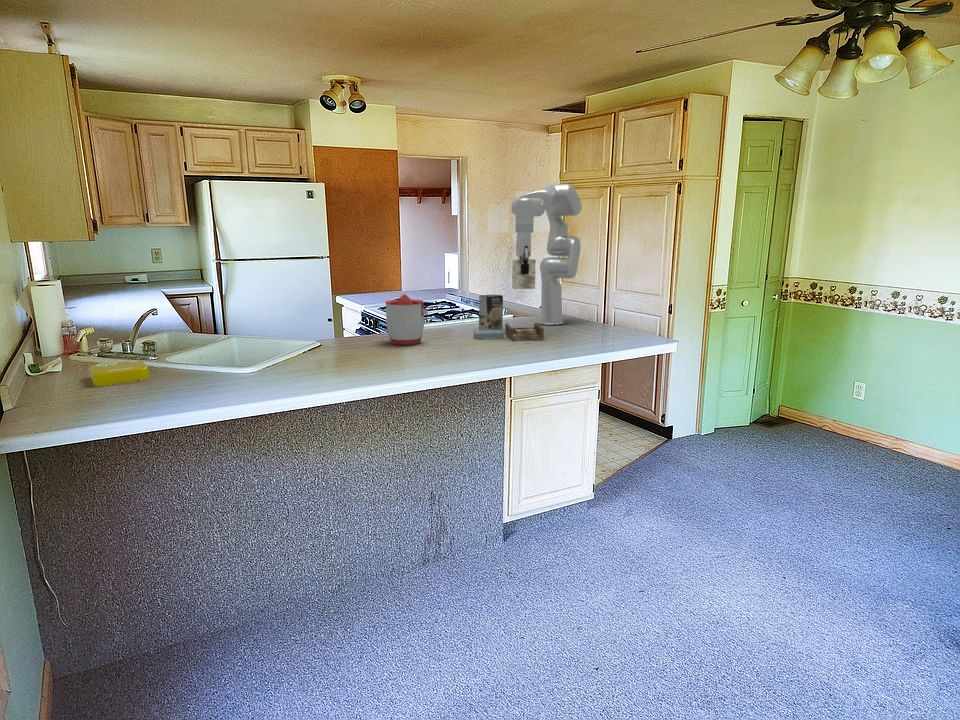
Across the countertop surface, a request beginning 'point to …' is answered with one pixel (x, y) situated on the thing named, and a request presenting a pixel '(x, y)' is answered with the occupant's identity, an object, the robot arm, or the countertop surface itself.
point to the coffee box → (490, 312)
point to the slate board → (488, 334)
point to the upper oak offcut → (525, 332)
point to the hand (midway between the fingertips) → (523, 273)
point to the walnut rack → (539, 331)
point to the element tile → (118, 372)
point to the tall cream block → (523, 275)
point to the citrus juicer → (405, 320)
